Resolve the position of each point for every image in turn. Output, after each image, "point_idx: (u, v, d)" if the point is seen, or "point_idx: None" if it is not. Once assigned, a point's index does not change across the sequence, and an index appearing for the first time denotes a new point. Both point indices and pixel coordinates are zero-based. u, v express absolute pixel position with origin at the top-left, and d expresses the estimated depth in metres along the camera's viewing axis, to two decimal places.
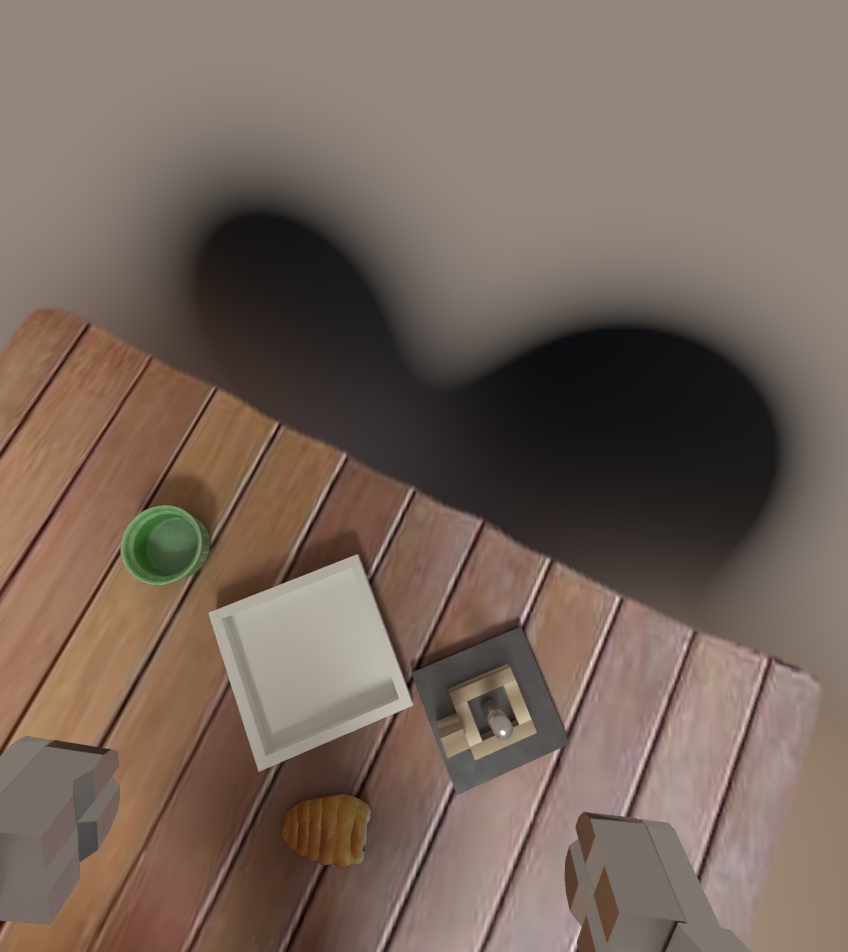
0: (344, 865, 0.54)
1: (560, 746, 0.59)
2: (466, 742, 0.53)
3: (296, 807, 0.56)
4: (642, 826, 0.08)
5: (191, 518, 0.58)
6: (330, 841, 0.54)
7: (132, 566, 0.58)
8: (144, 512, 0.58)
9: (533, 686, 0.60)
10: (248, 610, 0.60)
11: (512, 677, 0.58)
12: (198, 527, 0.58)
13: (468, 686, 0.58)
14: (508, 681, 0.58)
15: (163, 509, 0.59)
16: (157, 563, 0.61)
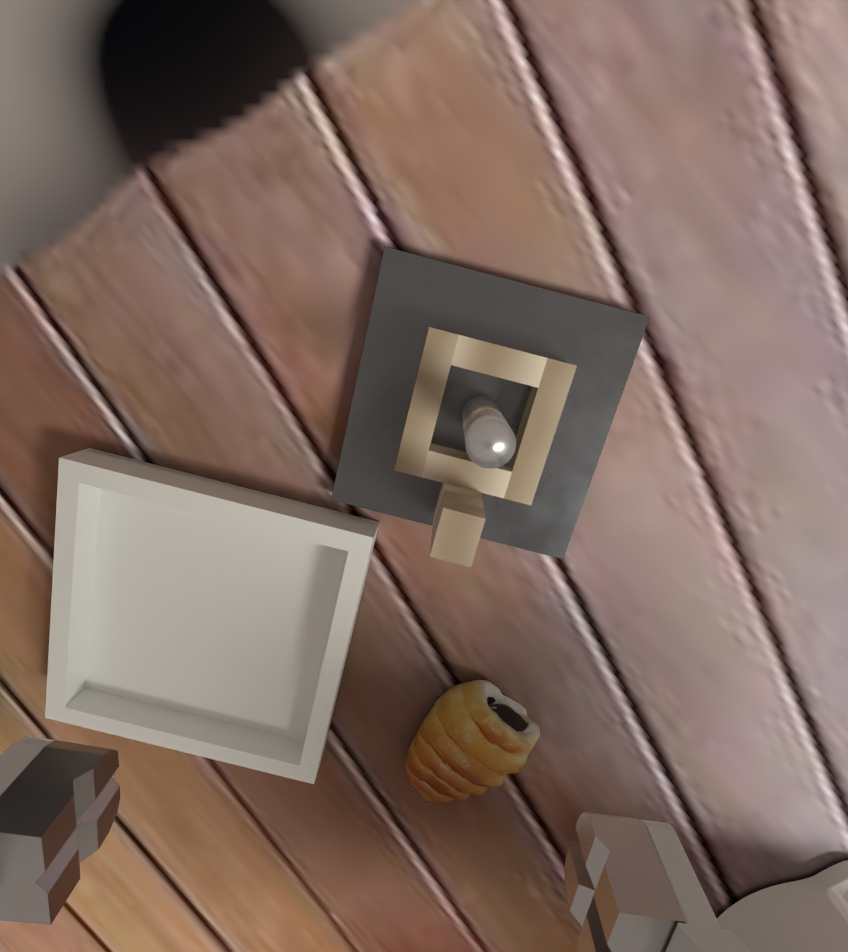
0: (520, 767, 0.32)
1: (639, 336, 0.27)
2: (471, 518, 0.23)
3: (406, 765, 0.34)
4: (643, 826, 0.08)
5: None
6: (473, 768, 0.32)
7: None
8: None
9: (505, 307, 0.27)
10: (89, 657, 0.34)
11: (450, 337, 0.25)
12: None
13: (406, 428, 0.26)
14: (451, 350, 0.25)
15: None
16: None
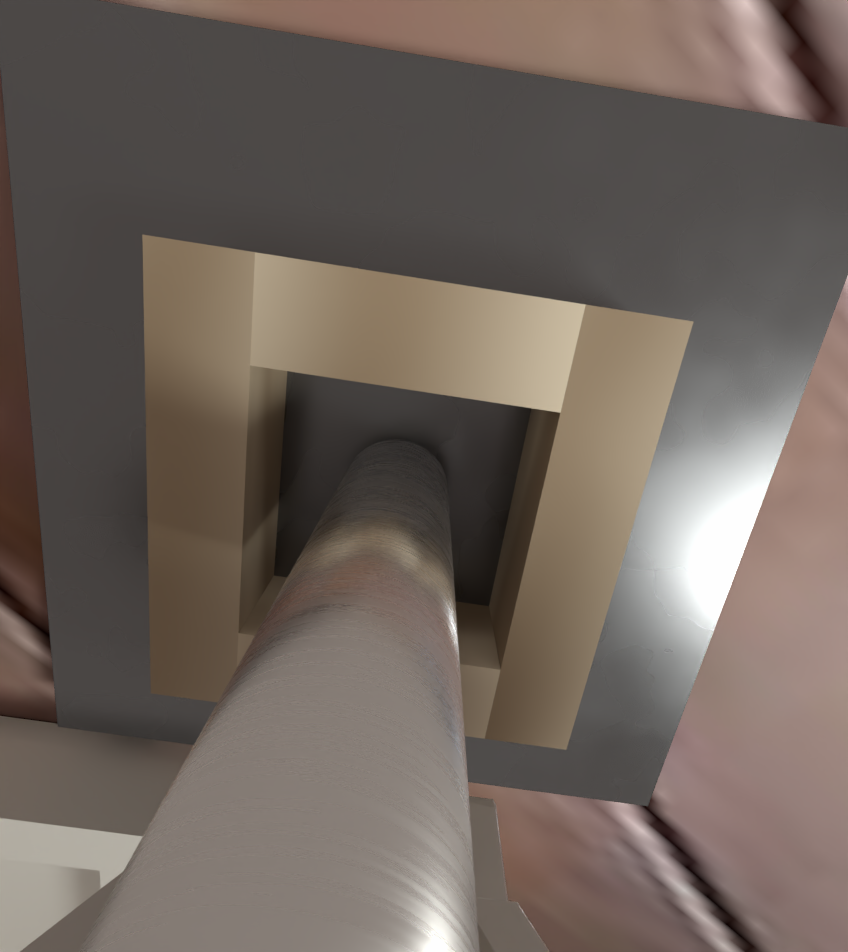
0: None
1: None
2: None
3: None
4: None
5: None
6: None
7: None
8: None
9: (425, 158, 0.08)
10: None
11: (226, 266, 0.07)
12: None
13: (155, 578, 0.08)
14: (240, 314, 0.07)
15: None
16: None
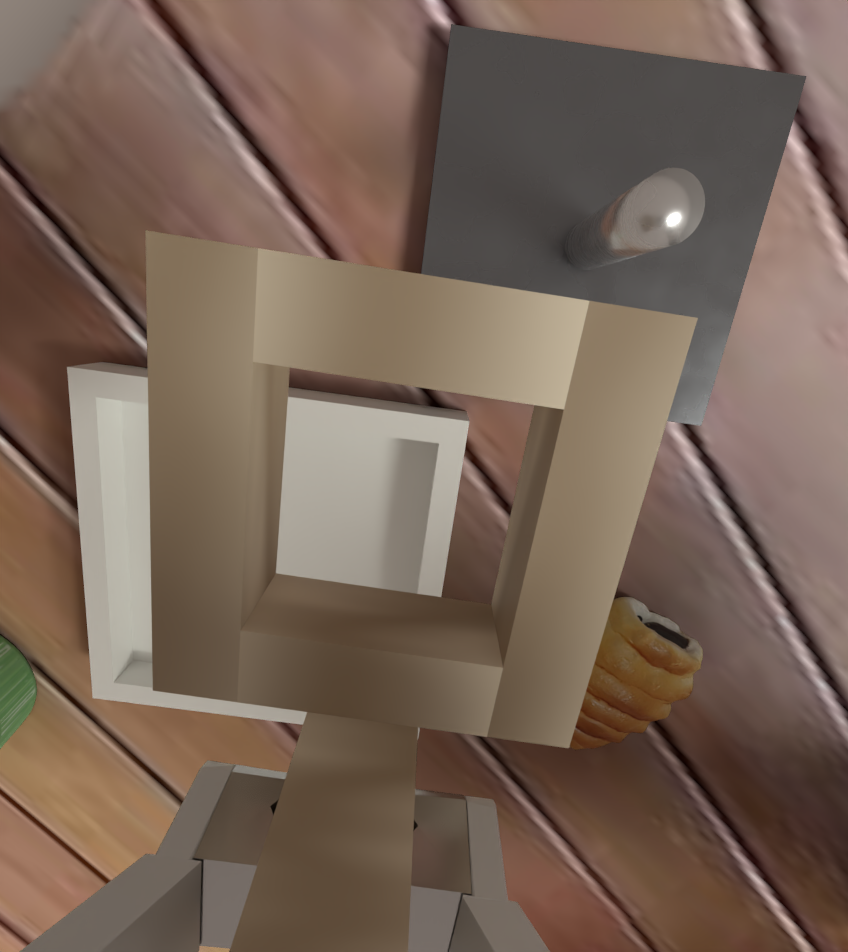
0: (690, 691, 0.27)
1: (793, 107, 0.20)
2: None
3: None
4: (462, 802, 0.08)
5: None
6: (636, 700, 0.26)
7: None
8: None
9: (614, 90, 0.20)
10: (134, 622, 0.29)
11: (229, 262, 0.07)
12: None
13: (157, 575, 0.08)
14: (243, 310, 0.07)
15: None
16: None
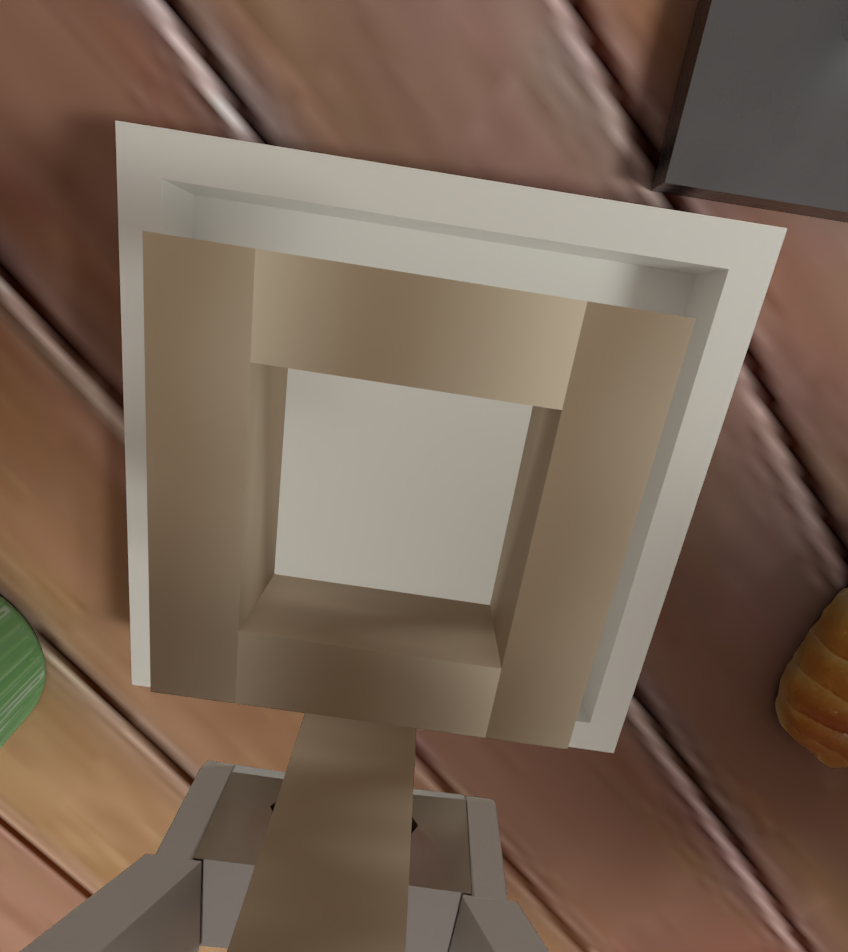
0: None
1: None
2: None
3: (795, 711, 0.20)
4: (462, 801, 0.08)
5: None
6: None
7: None
8: None
9: None
10: None
11: (227, 262, 0.07)
12: None
13: (154, 576, 0.08)
14: (240, 311, 0.07)
15: None
16: None
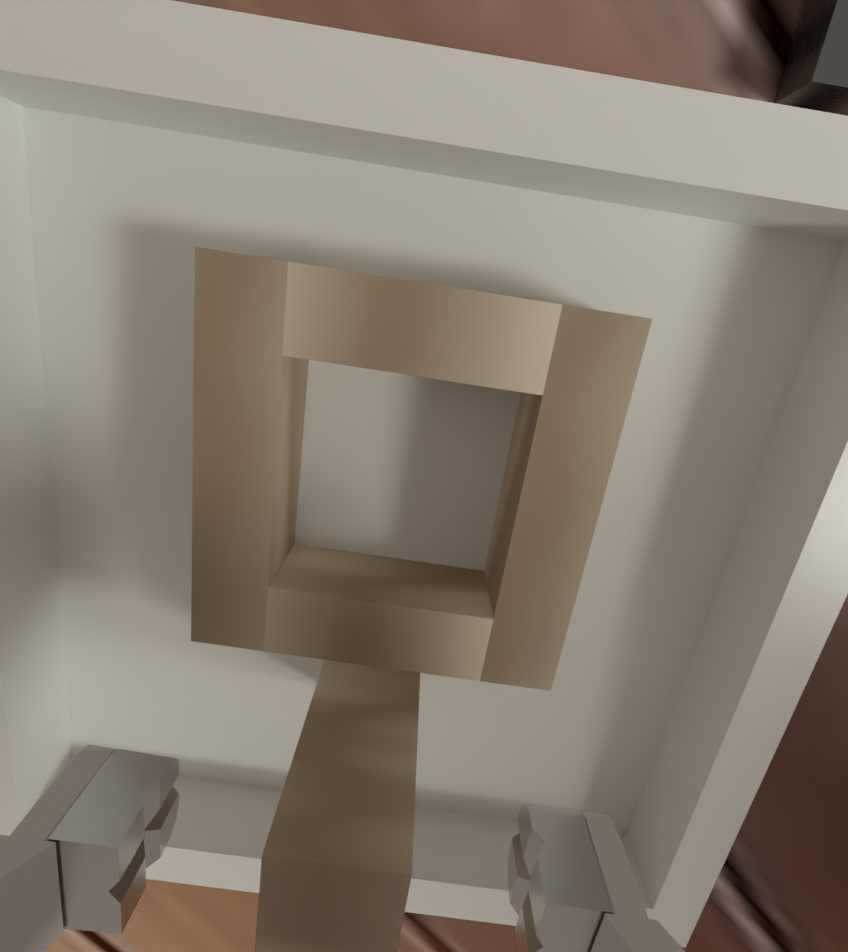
0: None
1: None
2: (362, 878, 0.07)
3: None
4: (581, 818, 0.08)
5: None
6: None
7: None
8: None
9: None
10: (73, 687, 0.13)
11: (264, 272, 0.08)
12: None
13: (197, 539, 0.10)
14: (275, 312, 0.09)
15: None
16: None
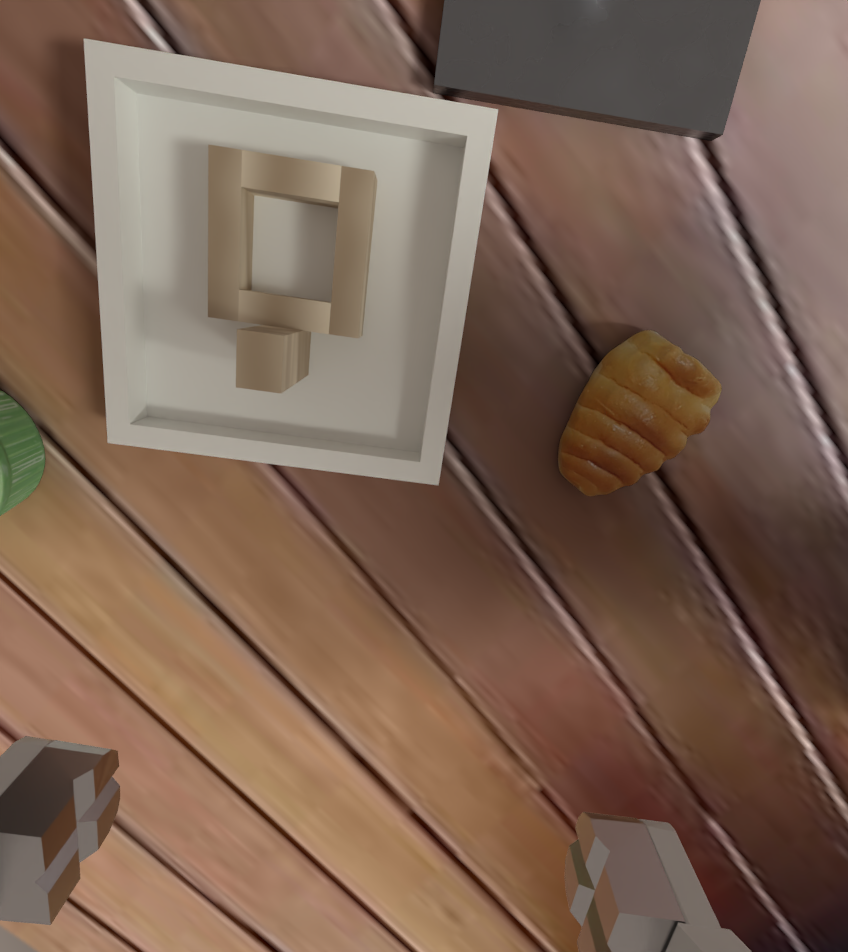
0: (708, 419, 0.27)
1: None
2: (268, 337, 0.22)
3: (562, 453, 0.29)
4: (643, 826, 0.08)
5: None
6: (657, 421, 0.27)
7: None
8: None
9: None
10: (148, 372, 0.28)
11: (233, 154, 0.23)
12: None
13: (210, 267, 0.25)
14: (237, 169, 0.23)
15: None
16: None
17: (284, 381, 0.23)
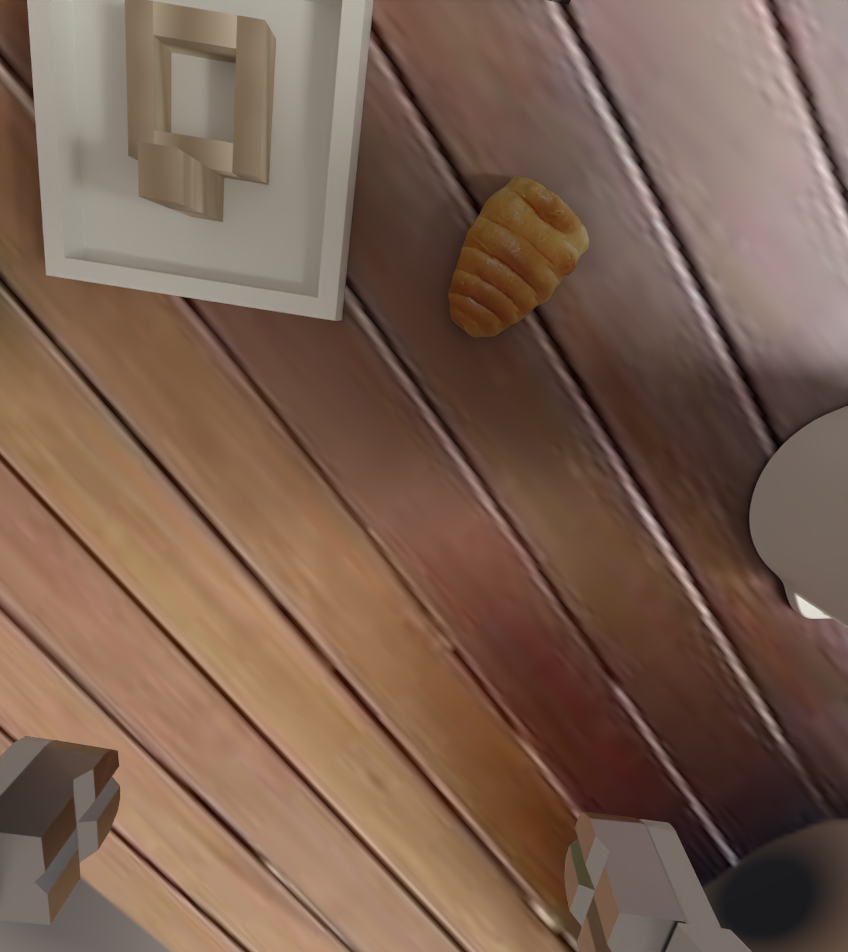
0: (572, 256, 0.30)
1: None
2: (164, 149, 0.26)
3: (449, 293, 0.33)
4: (642, 827, 0.08)
5: None
6: (523, 254, 0.30)
7: None
8: None
9: None
10: (85, 218, 0.32)
11: (146, 5, 0.27)
12: None
13: (129, 109, 0.29)
14: (150, 19, 0.28)
15: None
16: None
17: (182, 195, 0.27)
